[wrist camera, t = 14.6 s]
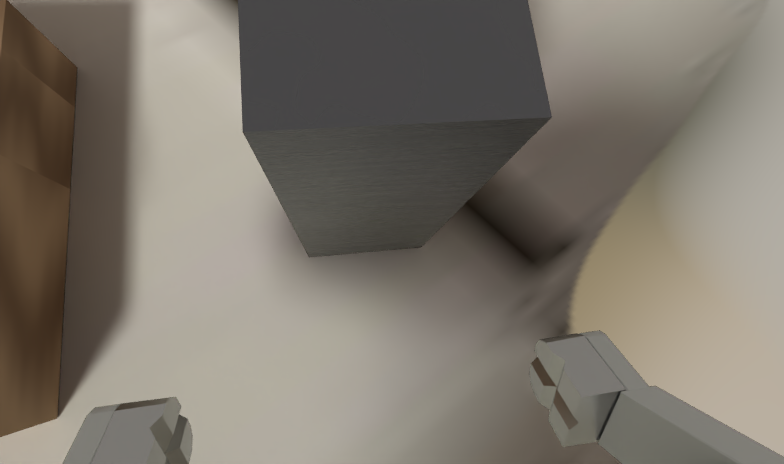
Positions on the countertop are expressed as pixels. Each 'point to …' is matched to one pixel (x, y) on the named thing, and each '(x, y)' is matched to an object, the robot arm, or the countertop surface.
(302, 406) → the countertop surface
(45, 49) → the hand plane
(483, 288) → the countertop surface
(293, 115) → the lever cap
